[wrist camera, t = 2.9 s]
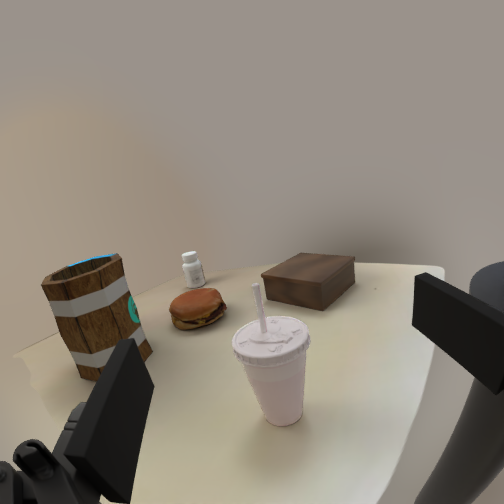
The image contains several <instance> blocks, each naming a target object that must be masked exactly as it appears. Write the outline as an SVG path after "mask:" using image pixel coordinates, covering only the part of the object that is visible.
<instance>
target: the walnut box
mask: <svg viewBox="0 0 504 504" xmlns="http://www.w3.org/2000/svg"><path fill="white" fill-rule="evenodd" d="M354 261H355V257H350V256H338V255H325V254H311V253H299V254H297V255H296V256H294V257H292V258H290V259H288V260H286V261H285V262H283V263H281V264H279V265H277V266H275V267H273V268H271V269H270V270H268V271H266V272H264V273H262V274H261V277H262V278H263V280H264V286H265V291H266V297H267V299H269V300H273V301H278V302H282V303H287V304H292V305H296V306H301V307H306V308H311V309H316V310H321V311H324V310H325V309H326V308H327V307H328V306H329V305H330V304H332V303H333V302H334V301H335V300H336V299H337V298H338V297H339V296H340V295H342V294H343V293H344V292H345V291H346V290H347V289H348V288H349V287H350V286H351V285H352V284H353V283H354V282H355V273H354Z"/></svg>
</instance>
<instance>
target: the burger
mask: <svg viewBox="0 0 504 504" xmlns="http://www.w3.org/2000/svg"><path fill="white" fill-rule="evenodd" d="M226 309H227V307H226V304H225V303H224V301H223V300H222V297H221V295H220V293H219V292H218V291H217V290H215V289H214V288H203V289H196V290H192V291H188V292H186V293H183V294H181V295H180V296H178V297H177V298H175V299H174V300H173V301H172V303H171V305H170V308H169V311H170V313H171V317H172V322H173V324H174V325H175V326H176V327H177V328H179V329H193V328H197V327H200V326H203V325H208V324H210V323H213V322H214V321H215V320H217V319H218V318H219V317H221V316H223V313H224V310H226Z"/></svg>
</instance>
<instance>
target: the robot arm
mask: <svg viewBox="0 0 504 504" xmlns="http://www.w3.org/2000/svg"><path fill="white" fill-rule="evenodd" d="M412 326H414V327H415V328H416V329H417V330H419V331H420V332H421V333H422V334H424V335H425V336H426V337H427V338H429V339H430V340H431V341H432V342H434V343H435V344H436V345H437V346H438V347H440V348H441V349H442V350H443V351H445V352H446V353H447V354H448V355H449V356H451V357H452V358H453V359H454V360H455V361H457V362H458V363H459V364H460V365H461V366H463V367H464V368H465V369H466V370H467V371H468V372H470V373H471V374H472V375H473V376H474V377H475V378H477V379H478V380H479V381H480V382H481V383H482V384H484V385H485V386H486V387H487V388H488V389H489V390H490V391H492V392H493V393H494V394H495V395H497V394H499V393H500V392H501V391H502V390H504V312H502V310H500V309H498V308H496V307H494V306H491V305H488V304H486V303H484V302H482V301H480V300H479V299H477V298H475V297H473V296H471V295H469V294H467V293H465V292H464V291H461V290H460V289H458V288H456V287H454V286H452V285H450V284H448V283H446V282H444V281H442V280H440V279H438V278H436V277H434V276H432V275H430V274H428V273H423V274H419V275H416V276H415V282H414V303H413V317H412ZM153 390H154V384H153V382H152V380H151V377H150V375H149V373H148V370H147V368H146V366H145V363H144V361H143V359H142V356H141V354H140V351H139V349H138V346H137V344H136V341H135V339H134V338H129V339H121V340H119V341H118V342H117V344H116V346H115V348H114V350H113V352H112V354H111V355H110V357H109V359H108V361H107V363H106V365H105V367H104V369H103V371H102V373H101V375H100V376H99V378H98V380H97V382H96V384H95V386H94V388H93V390H92V392H91V394H90V396H89V398H88V401H87V402H81V403H80V404H79V405H78V406H77V407H76V408H75V409H74V410H73V411H72V412H71V414H70V416H69V418H68V420H67V421H68V422H66V424H65V426H64V430H62V433H61V435H60V437H59V439H58V441H57V443H56V445H55V447H54V450H53V452H52V453H51V452H50V451H49V450H48V449H47V448H46V446H45V445H44V444H43V443H42V442H41V441H39V440H35V439H30V440H27V441H24V442H23V443H21V444H20V445H19V446H18V447H17V448H16V449H15V452H14V454H13V462H14V463H15V464H17V466H18V467H19V468H20V469H21V470H22V471H16V470H15V469H14V468H13V467H12V466H11V465H10V464H9V463H7V462H5V461H0V504H101V503H100V502H99V500H100V496H101V494H102V495H103V496H104V497H105V498H106V499H107V500H108V501H110V502H115V503H123V504H130V501H131V495H132V489H133V484H134V478H135V473H136V468H137V462H138V457H139V452H140V448H141V443H142V438H143V433H144V429H145V424H146V420H147V415H148V411H149V407H150V403H151V399H152V394H153Z"/></svg>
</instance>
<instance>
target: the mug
mask: <svg viewBox="0 0 504 504" xmlns="http://www.w3.org/2000/svg"><path fill="white" fill-rule="evenodd" d="M41 286H42V288H43V290H44V292H45V295H46V297H47V299H48V301H49V303H50V306H51V309H52V311H53V314H54V316H55V319H56V322H57V326H58V329H59V332H60V335H61V337H62V338H63V340H64V342H65V344H66V346H67V347H68V349H69V351H70V353H71V355H72V357H73V359H74V361H75V363H76V366H77V368H78V371H79V373H80V376H81V378H84V379H88V380H93V381H97V380H98V378H99V376H100V375H101V373H102V371H103V369H104V367H105V365H106V363H107V361H108V359H109V357H110V355H111V354H112V352H113V350H114V348H115V346H116V344H117V342H118V341H119V340H121V339H129V338H134V339H135V341H136V344H137V346H138V349H139V351H140V354H141V356H142V359H143V361H145V360H146V359H147V358H148V357H149V355H150V354H151V353H152V352H153V351H152V349H151V347H150V345H149V343H148V342H147V340H146V338H145V335H144V332H143V330H142V327H141V323H140V320H139V315H138V311H137V307H136V305H135V303H134V301H133V298H132V296H131V294H130V291H129V288H128V285H127V282H126V279H125V275H124V269H123V263H122V258H121V257H120V256H119V255H118V254H117V253H116V254H110V255H104V256H97V257H94V258H90V259H87V260H84V261H81V262H78V263H75V264H72V265H69V266H66V267H64V268H62V269H60V270H58V271H56V272H54V273H52V274H50V275H49V276H47V277H45V279H44V280H43V282H42V284H41Z"/></svg>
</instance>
